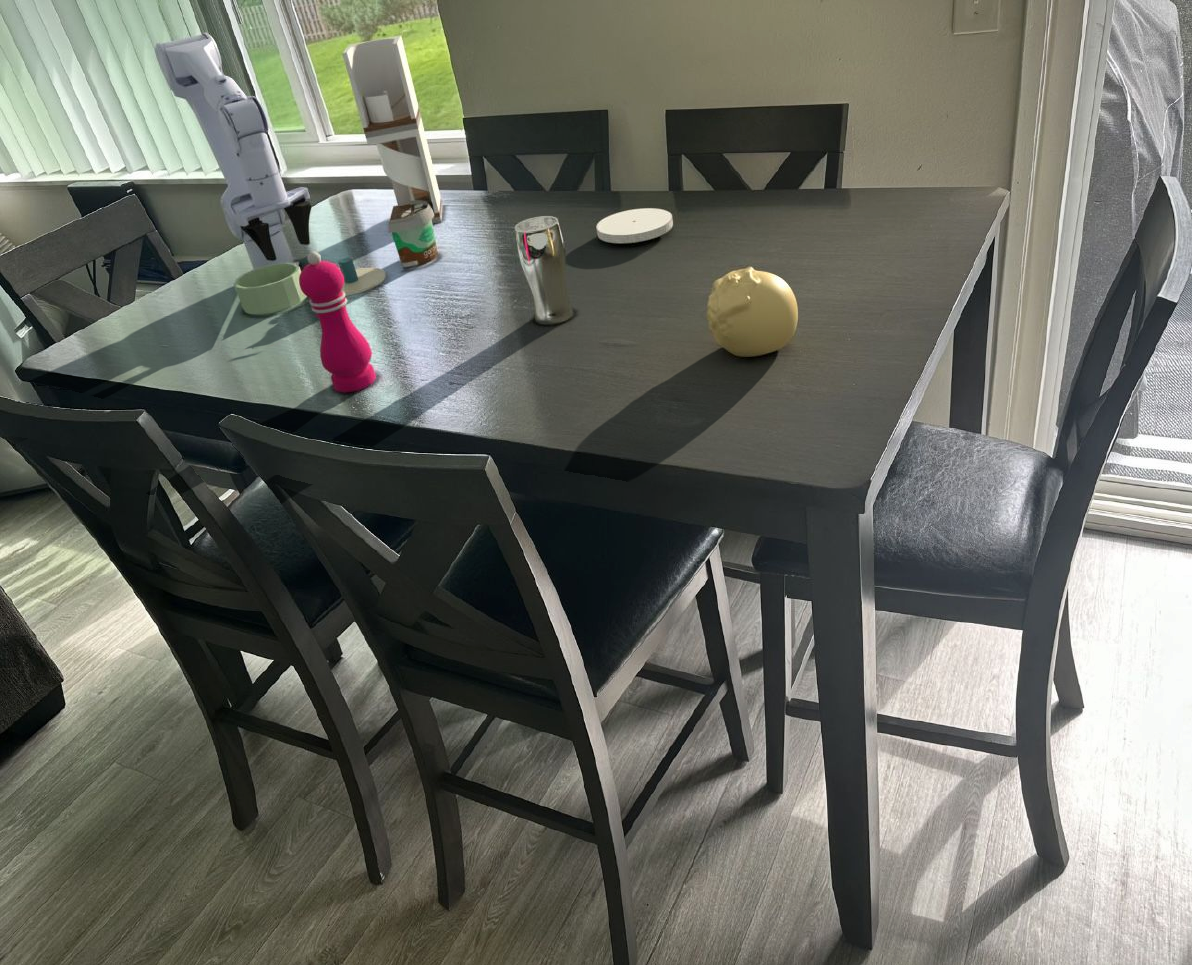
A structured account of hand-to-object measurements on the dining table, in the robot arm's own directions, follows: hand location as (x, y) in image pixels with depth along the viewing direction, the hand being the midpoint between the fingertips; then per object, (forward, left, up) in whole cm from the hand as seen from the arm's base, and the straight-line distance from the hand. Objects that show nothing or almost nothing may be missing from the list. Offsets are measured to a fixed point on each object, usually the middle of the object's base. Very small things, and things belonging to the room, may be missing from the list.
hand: (288, 251), depth 166 cm
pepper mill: (+41, +12, -9) cm, 44 cm away
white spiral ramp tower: (-36, +21, -9) cm, 42 cm away
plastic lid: (+2, +62, -9) cm, 63 cm away
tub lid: (-1, +9, -8) cm, 12 cm away
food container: (-7, +23, -9) cm, 26 cm away
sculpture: (+56, +68, -9) cm, 89 cm away
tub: (0, -5, -9) cm, 10 cm away
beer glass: (+32, +43, -9) cm, 55 cm away
